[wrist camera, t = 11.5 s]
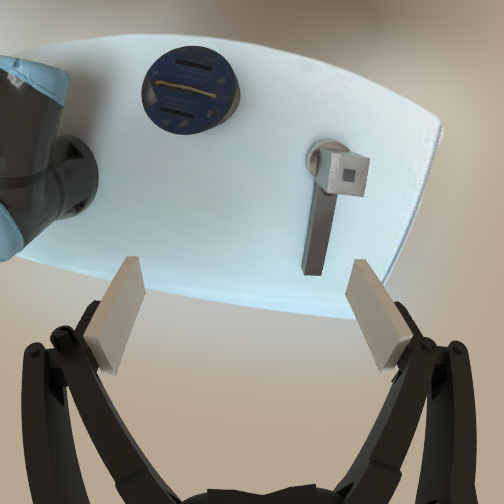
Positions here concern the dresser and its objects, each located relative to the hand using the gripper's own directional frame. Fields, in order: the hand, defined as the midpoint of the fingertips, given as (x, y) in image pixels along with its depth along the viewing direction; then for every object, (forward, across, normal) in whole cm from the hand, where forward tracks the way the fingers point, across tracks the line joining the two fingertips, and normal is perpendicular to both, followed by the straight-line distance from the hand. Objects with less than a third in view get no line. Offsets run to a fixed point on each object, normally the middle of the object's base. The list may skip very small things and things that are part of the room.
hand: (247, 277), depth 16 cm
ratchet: (+29, +13, -7) cm, 33 cm away
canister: (+30, -5, +11) cm, 33 cm away
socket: (+26, +13, +2) cm, 29 cm away
